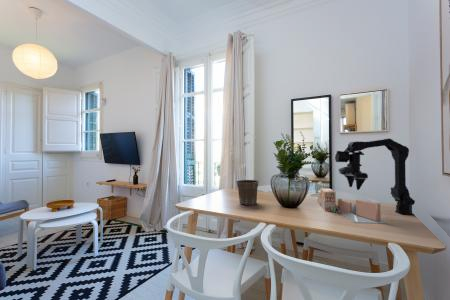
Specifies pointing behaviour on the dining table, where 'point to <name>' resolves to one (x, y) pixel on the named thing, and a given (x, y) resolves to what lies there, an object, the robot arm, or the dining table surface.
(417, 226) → the dining table surface
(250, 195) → the plant pot
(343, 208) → the fixed fence section
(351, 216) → the board
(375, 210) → the fence panel
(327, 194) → the stack of blocks
